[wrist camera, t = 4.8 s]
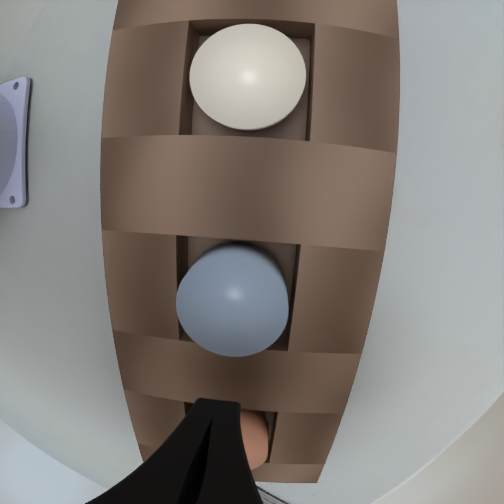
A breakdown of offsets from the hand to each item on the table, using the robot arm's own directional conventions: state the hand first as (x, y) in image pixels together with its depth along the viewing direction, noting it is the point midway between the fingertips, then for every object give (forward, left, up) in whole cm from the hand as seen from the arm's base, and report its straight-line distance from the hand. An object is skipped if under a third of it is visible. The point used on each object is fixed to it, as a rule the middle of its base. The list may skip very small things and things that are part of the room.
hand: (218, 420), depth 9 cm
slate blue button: (0, +2, -6) cm, 6 cm away
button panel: (0, +2, -8) cm, 8 cm away
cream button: (0, +11, -7) cm, 13 cm away
